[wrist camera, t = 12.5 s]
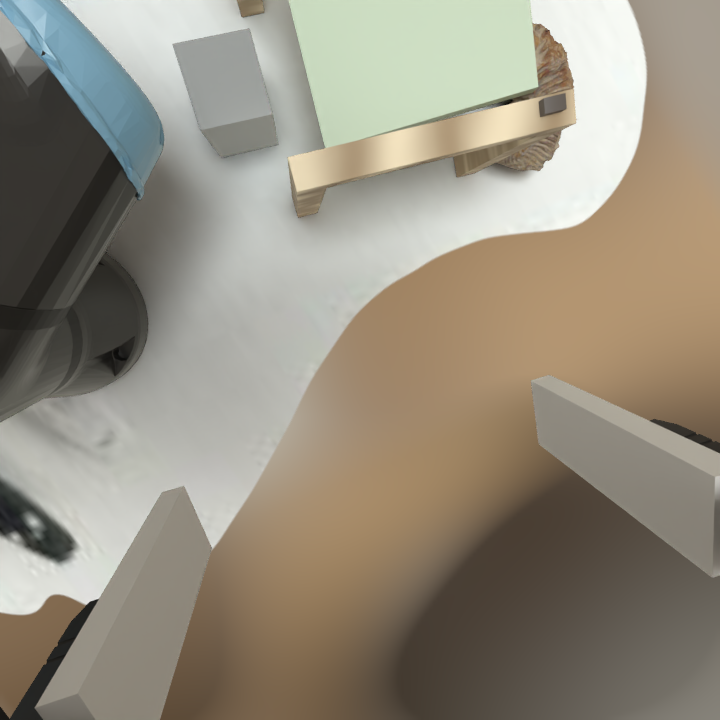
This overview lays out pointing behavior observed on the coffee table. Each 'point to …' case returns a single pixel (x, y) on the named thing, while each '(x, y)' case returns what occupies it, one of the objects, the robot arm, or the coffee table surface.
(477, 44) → the trapdoor
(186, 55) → the grey rectangular block
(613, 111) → the coffee table surface
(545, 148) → the seashell
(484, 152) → the frame
